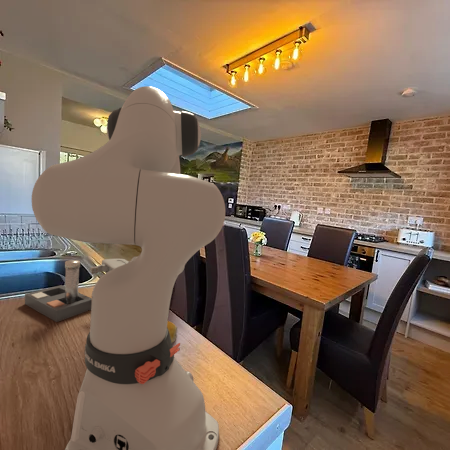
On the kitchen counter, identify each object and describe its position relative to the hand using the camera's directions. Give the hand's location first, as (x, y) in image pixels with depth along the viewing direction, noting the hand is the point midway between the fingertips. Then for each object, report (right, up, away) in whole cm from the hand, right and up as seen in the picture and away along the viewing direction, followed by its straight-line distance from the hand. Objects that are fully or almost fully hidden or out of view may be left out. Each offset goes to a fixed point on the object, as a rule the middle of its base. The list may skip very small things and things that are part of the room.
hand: (95, 275), depth 76 cm
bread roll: (+22, -13, -12) cm, 29 cm away
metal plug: (-5, -9, -3) cm, 11 cm away
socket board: (-9, -9, -2) cm, 13 cm away
